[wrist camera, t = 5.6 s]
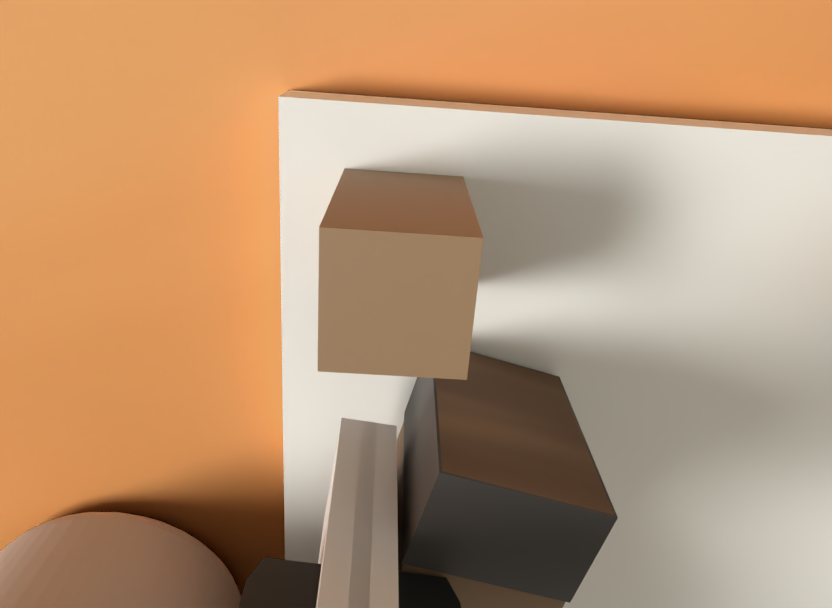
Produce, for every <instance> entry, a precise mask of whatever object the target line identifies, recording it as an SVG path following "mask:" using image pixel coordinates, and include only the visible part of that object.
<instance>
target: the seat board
mask: <svg viewBox="0 0 832 608" xmlns="http://www.w3.org/2000/svg"><path fill="white" fill-rule="evenodd" d="M279 167H280V238H281V310H282V382H283V453H284V525H285V560H291V561H300V562H308V563H316V564H318V560H319V552H320V545H321V538H322V531H323V523H324V516H325V510H326V505H327V499H328V493H329V487H330V482H331V476H332V470H333V464H334V459H335V453H336V447H337V441H338V436H339V430H340V424H341V418H348V419H355V420H362V421H369V422H376V423H381V424H388V425H395V426H397V438H398V436H399V433H400V430H401V428H402V425H403V422H404V412H405V409H406V407H407V404H408V401H409V399H410V396H411V393H412V390H413V388H414V385H415V382H416V379H417V377H425V378H442V379H460V380H467V374H468V366H469V357H470V352H474V353H477V354H481V355H484V356H488V357H491V358H495V359H499V360H502V361H506V362H509V363H513V364H516V365H520V366H523V367H527V368H530V369H534V370H538V371H541V372H545V373H548V374H552V375H555V376H559V377H560V379H561V382H562V384H563V386H564V389H565V391H566V394H567V396H568V399H569V401H570V403H571V406H572V408H573V411H574V413H575V415H576V418H577V420H578V423H579V425H580V427H581V430H582V432H583V435H584V437H585V440H586V442H587V444H588V447H589V449H590V452H591V454H592V456H593V459H594V461H595V464H596V466H597V469H598V471H599V473H600V476H601V478H602V481H603V483H604V485H605V488H606V490H607V493H608V495H609V498H610V500H611V502H612V505H613V507H614V510H615V512H616V514H617V517H618V519H617V520H616V522H615V524H614V526H613V528H612V529H611V531H610V533H609V535H608V536H607V538H606V540H605V542H604V543H603V545H602V547H601V549H600V551H599V552H598V554H597V556H596V558H595V559H594V561H593V563H592V565H591V567H590V568H589V570H588V572H587V574H586V575H585V577H584V579H583V581H582V583H581V584H580V586H579V588H578V590H577V591H576V593H575V595H574V597H573V598H572V600H571V602H570V603H569V602H565V604H564V606H563V608H832V129H822V128H809V127H795V126H781V125H767V124H753V123H739V122H725V121H711V120H698V119H684V118H670V117H656V116H642V115H628V114H614V113H600V112H587V111H573V110H559V109H545V108H531V107H517V106H503V105H489V104H476V103H462V102H448V101H434V100H420V99H406V98H392V97H378V96H365V95H351V94H337V93H323V92H309V91H295V90H288V91H287V92H285V93H283V94H282V95H280V96H279Z"/></svg>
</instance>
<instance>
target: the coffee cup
mask: <svg viewBox="0 0 832 608" xmlns="http://www.w3.org/2000/svg"><path fill="white" fill-rule="evenodd" d="M240 600H241V596H240V592H239V589H238V587H237V585H236V583H235V581H234V579H233V577H232V575H231V574H230V572H229V571H228V569H227V568H226V566H225V565H224V563H223V562H222V561H221V560H220V559H219V558H218V557H217V556H216V554H214V553H213V552H212V551H211V550H210V549H208V548H207V547H206V546H205V545H204V544H203V543H201V542H200V541H199V540H197V539H195V538H194V537H192V536H191V535H189V534H187V533H186V532H184V531H182V530H180V529H178V528H175V527H173V526H171V525H169V524H166V523H164V522H162V521H158V520H155V519H151V518H148V517H144V516H139V515H133V514H127V513H121V512H85V513H78V514H72V515H67V516H63V517H60V518H56V519H53V520H50V521H48V522H45V523H43V524H40V525H38V526H36V527H34V528H32V529H29V530H28V531H26V532H25V533H24V534H22V535H21V536H19V537H18V538H16V539H15V540H14V541H12V542H11V543H10V544H8V545H7V546H6V547H5V548H4V549H3V550H2V551H1V552H0V608H239V604H240Z"/></svg>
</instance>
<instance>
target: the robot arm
mask: <svg viewBox="0 0 832 608" xmlns="http://www.w3.org/2000/svg"><path fill="white" fill-rule="evenodd" d="M239 608H461V603H460V601H459V599H458V597H457V596H456V594H455V592H454V590H453V589H452V587H451V585H450V583H449V581H448V580H447V578H446V577H438V576H430V575H421V574H413V573H404V572H398V506H397V426H395V425H388V424H381V423H376V422H369V421H362V420H355V419H348V418H341V424H340V430H339V436H338V441H337V447H336V453H335V459H334V464H333V470H332V476H331V482H330V487H329V493H328V499H327V505H326V510H325V516H324V523H323V531H322V538H321V545H320V552H319V560H318V564H316V563H308V562H300V561H291V560H283V559H275V558H266V557H264V558H263V559H262V561H261V562H260V563H259V564H258V565H257V567H256V568H255V569H254V570H253V572H252V573H251V574H250V575H249V576H248V578H247V579H246V581H245V585H244V589H243V593H242V597H241V600H240V604H239Z"/></svg>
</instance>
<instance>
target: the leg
mask: <svg viewBox="0 0 832 608" xmlns="http://www.w3.org/2000/svg"><path fill="white" fill-rule="evenodd" d="M397 506H398V572H404V573H413V574H421V575H430V576H438V577H446V578H447V580H448V581H449V583H450V585H451V587H452V589H453V590H454V592H455V594H456V596H457V597H458V599H459V601H460V603H461V608H563V606H564V604H565V602H569V603H570V602H571V600H572V598H573V597H574V595H575V593H576V591H577V590H578V588H579V586H580V584H581V583H582V581H583V579H584V577H585V575H586V574H587V572H588V570H589V568H590V567H591V565H592V563H593V561H594V559H595V558H596V556H597V554H598V552H599V551H600V549H601V547H602V545H603V543H604V542H605V540H606V538H607V536H608V535H609V533H610V531H611V529H612V528H613V526H614V524H615V522H616V520H617V519H618V517H617V514H616V512H615V510H614V507H613V505H612V502H611V500H610V498H609V495H608V493H607V490H606V488H605V485H604V483H603V481H602V478H601V476H600V473H599V471H598V469H597V466H596V464H595V461H594V459H593V456H592V454H591V452H590V449H589V447H588V444H587V442H586V440H585V437H584V435H583V432H582V430H581V427H580V425H579V423H578V420H577V418H576V415H575V413H574V411H573V408H572V406H571V403H570V401H569V399H568V396H567V394H566V391H565V389H564V386H563V384H562V382H561V379H560V377H559V376H555V375H552V374H548V373H545V372H541V371H538V370H534V369H530V368H527V367H523V366H520V365H516V364H513V363H509V362H506V361H502V360H499V359H495V358H491V357H488V356H484V355H481V354H477V353H474V352H470V357H469V366H468V374H467V380H460V379H442V378H425V377H417V379H416V382H415V385H414V388H413V390H412V393H411V396H410V399H409V401H408V404H407V407H406V409H405V412H404V422H403V425H402V428H401V430H400V433H399V436H398V438H397Z"/></svg>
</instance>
